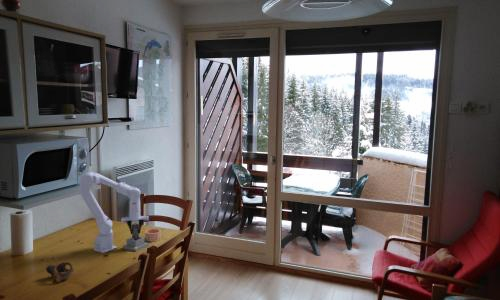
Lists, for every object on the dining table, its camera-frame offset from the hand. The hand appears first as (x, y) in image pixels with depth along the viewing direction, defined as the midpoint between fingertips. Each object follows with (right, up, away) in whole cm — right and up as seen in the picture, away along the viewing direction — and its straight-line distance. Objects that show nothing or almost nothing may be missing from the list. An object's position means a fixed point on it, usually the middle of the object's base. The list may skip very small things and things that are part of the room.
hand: (135, 233), depth 206 cm
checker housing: (0, -8, +1) cm, 8 cm away
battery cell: (0, -2, 0) cm, 2 cm away
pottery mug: (-23, -12, -37) cm, 45 cm away
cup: (+6, -7, +13) cm, 16 cm away
